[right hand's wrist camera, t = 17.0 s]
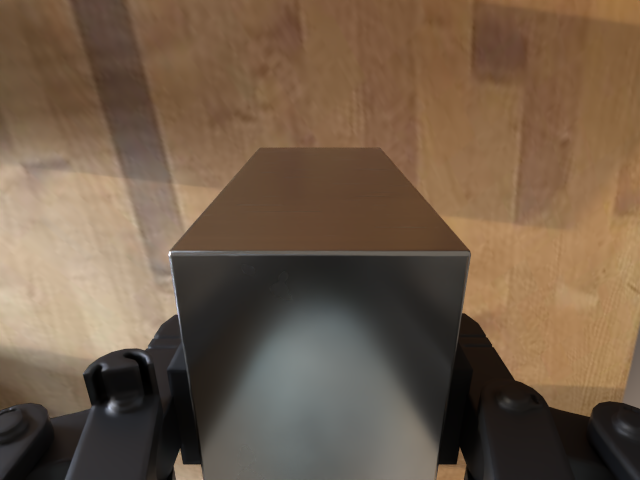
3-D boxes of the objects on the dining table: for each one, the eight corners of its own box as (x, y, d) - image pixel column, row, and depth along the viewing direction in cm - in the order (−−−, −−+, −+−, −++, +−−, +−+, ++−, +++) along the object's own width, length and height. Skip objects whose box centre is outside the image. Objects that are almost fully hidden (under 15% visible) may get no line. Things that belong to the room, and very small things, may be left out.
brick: (370, 333, 19) (421, 587, 10) (269, 333, 19) (218, 587, 10) (381, 147, 16) (473, 251, 6) (258, 147, 16) (165, 251, 6)
